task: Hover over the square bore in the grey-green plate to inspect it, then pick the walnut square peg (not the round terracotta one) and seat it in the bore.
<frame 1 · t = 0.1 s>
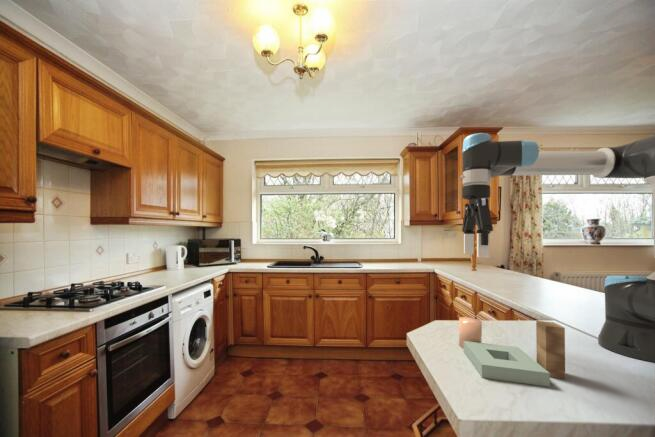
hand: (475, 255, 79), 28 cm above the countertop, fingers open, 13 cm apart
bore plate: (501, 367, 67), on the countertop
square peg: (550, 373, 65), on the countertop
round peg: (470, 347, 79), on the countertop
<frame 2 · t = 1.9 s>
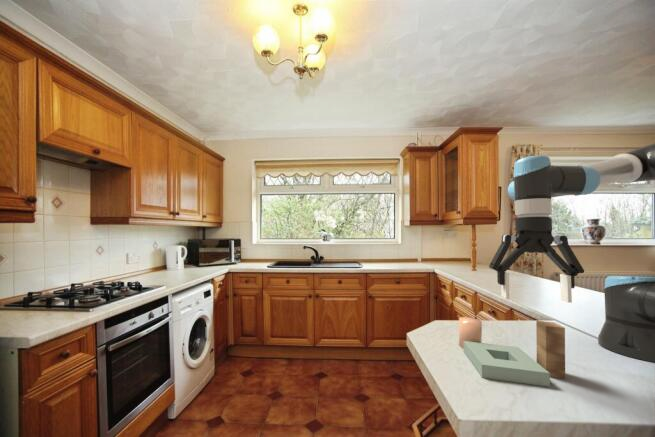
hand: (535, 299, 67), 18 cm above the countertop, fingers open, 13 cm apart
nothing on the countertop moved.
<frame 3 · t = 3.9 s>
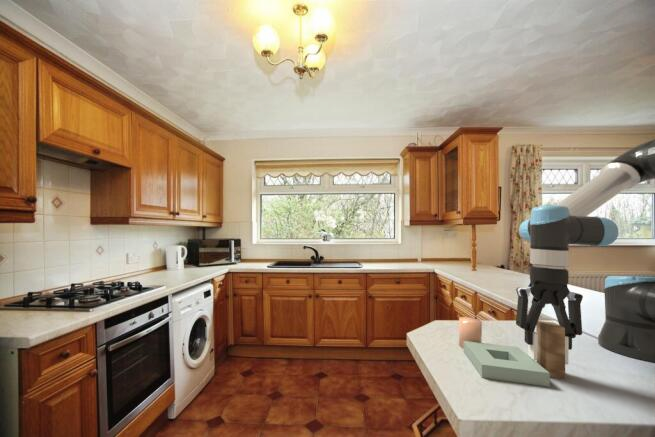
hand: (547, 359, 65), 3 cm above the countertop, fingers open, 6 cm apart
nothing on the countertop moved.
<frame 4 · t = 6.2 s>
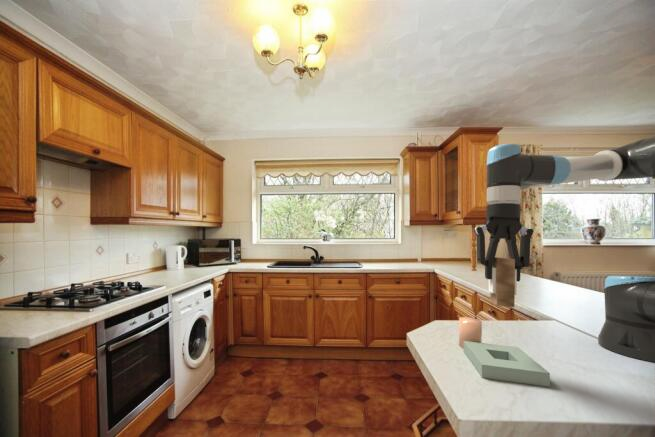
hand: (502, 292, 68), 19 cm above the countertop, fingers closed on square peg, 4 cm apart
square peg: (501, 304, 68), point 16 cm above the countertop, touching gripper
everything else where it was.
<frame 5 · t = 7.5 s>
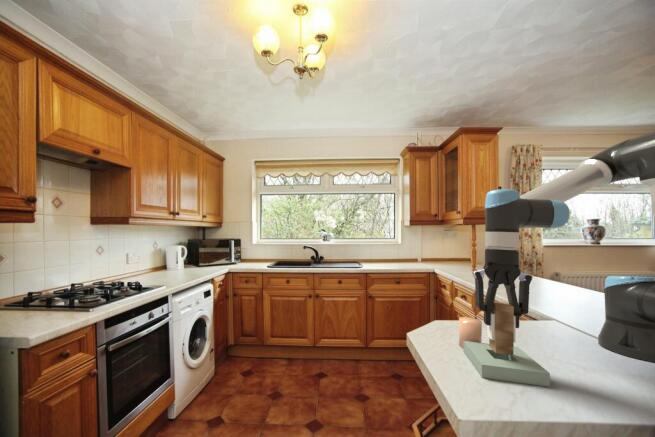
hand: (501, 338, 68), 7 cm above the countertop, fingers closed on square peg, 4 cm apart
square peg: (500, 350, 67), point 4 cm above the countertop, touching gripper
everything else where it was.
when the fingers open (4 cm above the countertop, at t = 8.2 s): square peg drops 1 cm, resting in bore plate.
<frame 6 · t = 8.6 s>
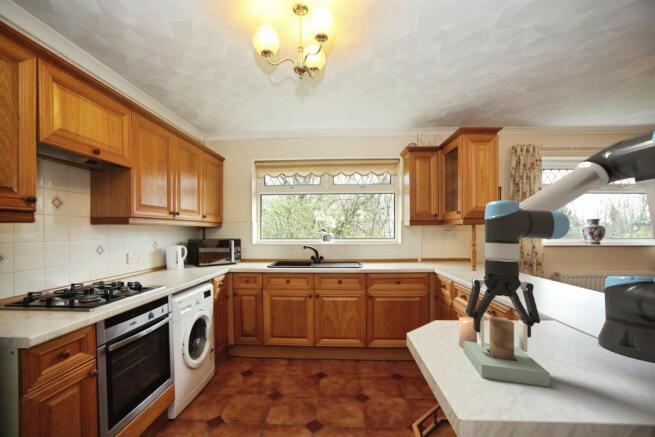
hand: (501, 347, 68), 5 cm above the countertop, fingers open, 9 cm apart
square peg: (501, 367, 67), resting in bore plate
everything else where it was.
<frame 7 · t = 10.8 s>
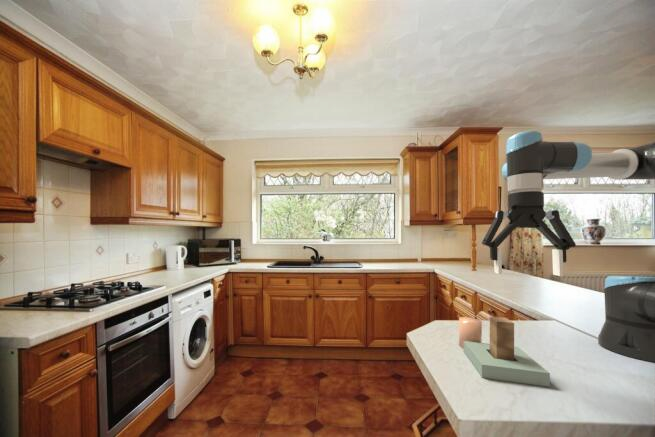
hand: (527, 274, 67), 24 cm above the countertop, fingers open, 13 cm apart
nothing on the countertop moved.
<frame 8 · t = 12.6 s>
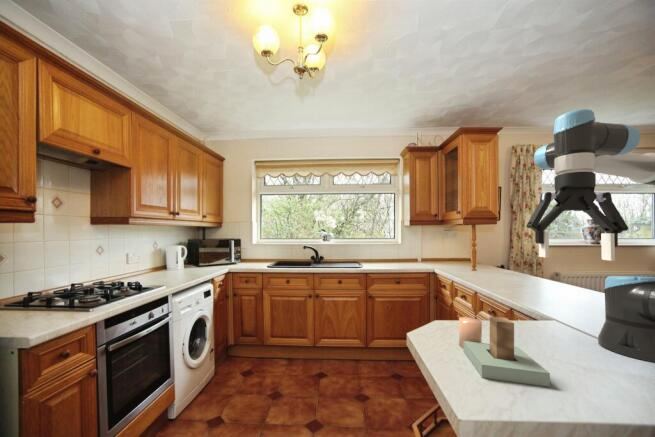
hand: (575, 258, 65), 29 cm above the countertop, fingers open, 13 cm apart
nothing on the countertop moved.
at the end: square peg 0.0 cm off-centre on the bore plate, point 0.0 cm above the bore plate's base; square peg tilted 0°; the gripper is holding nothing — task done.
